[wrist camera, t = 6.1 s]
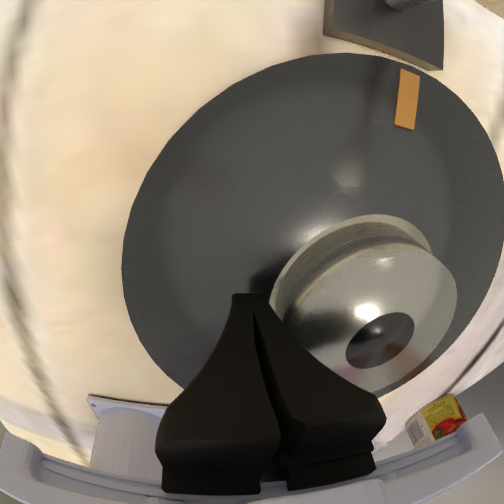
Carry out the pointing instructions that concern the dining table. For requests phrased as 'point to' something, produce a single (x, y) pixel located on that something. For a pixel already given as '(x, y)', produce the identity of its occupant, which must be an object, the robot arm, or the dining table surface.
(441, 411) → the canned food
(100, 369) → the dining table surface
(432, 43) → the chrome shaft on stand
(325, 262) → the cover
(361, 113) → the turntable
